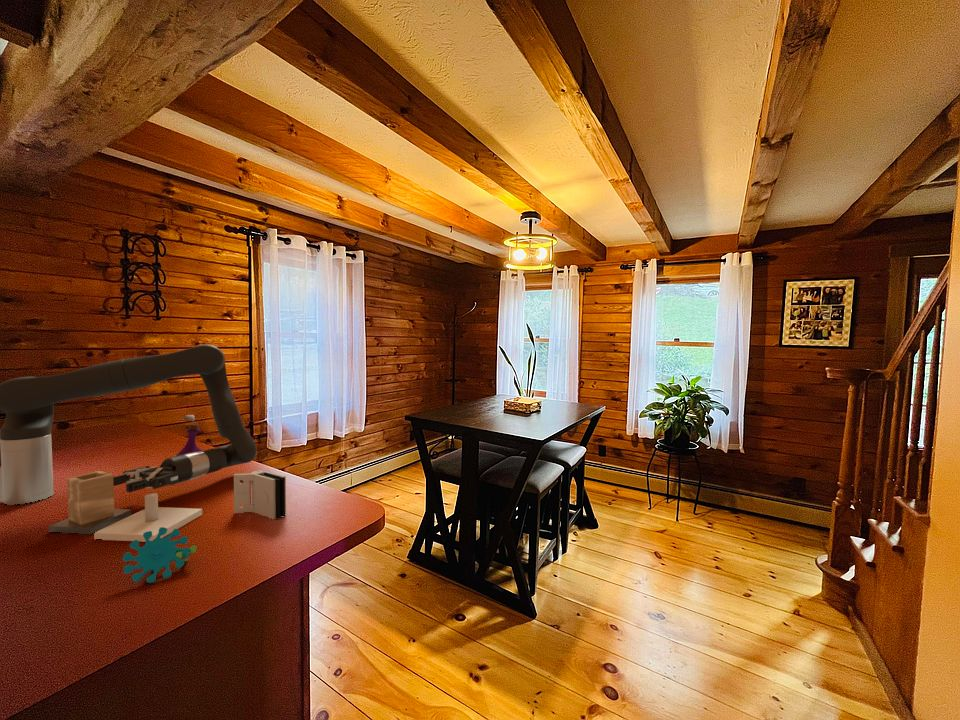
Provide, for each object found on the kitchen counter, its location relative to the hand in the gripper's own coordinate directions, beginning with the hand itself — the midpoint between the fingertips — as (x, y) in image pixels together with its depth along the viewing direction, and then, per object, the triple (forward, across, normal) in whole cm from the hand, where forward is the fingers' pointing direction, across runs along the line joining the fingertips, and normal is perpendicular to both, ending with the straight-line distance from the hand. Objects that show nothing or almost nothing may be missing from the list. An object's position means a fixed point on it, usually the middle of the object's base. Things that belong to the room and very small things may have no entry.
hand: (117, 485), depth 101 cm
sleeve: (+5, 0, +6) cm, 8 cm away
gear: (+10, +37, +8) cm, 39 cm away
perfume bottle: (-31, -23, +8) cm, 39 cm away
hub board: (0, +14, +8) cm, 16 cm away
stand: (+5, 0, +8) cm, 9 cm away
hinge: (-16, +31, +8) cm, 35 cm away
